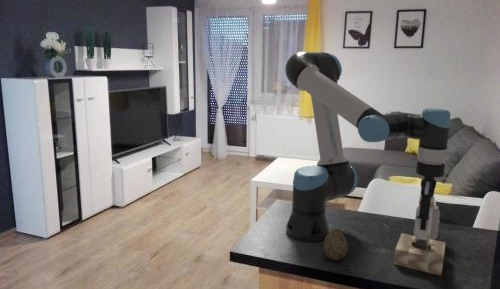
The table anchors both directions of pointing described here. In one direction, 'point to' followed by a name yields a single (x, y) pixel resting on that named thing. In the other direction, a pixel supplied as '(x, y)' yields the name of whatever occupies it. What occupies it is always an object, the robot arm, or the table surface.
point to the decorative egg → (335, 245)
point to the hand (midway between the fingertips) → (422, 235)
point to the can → (433, 225)
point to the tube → (425, 243)
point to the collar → (420, 255)
